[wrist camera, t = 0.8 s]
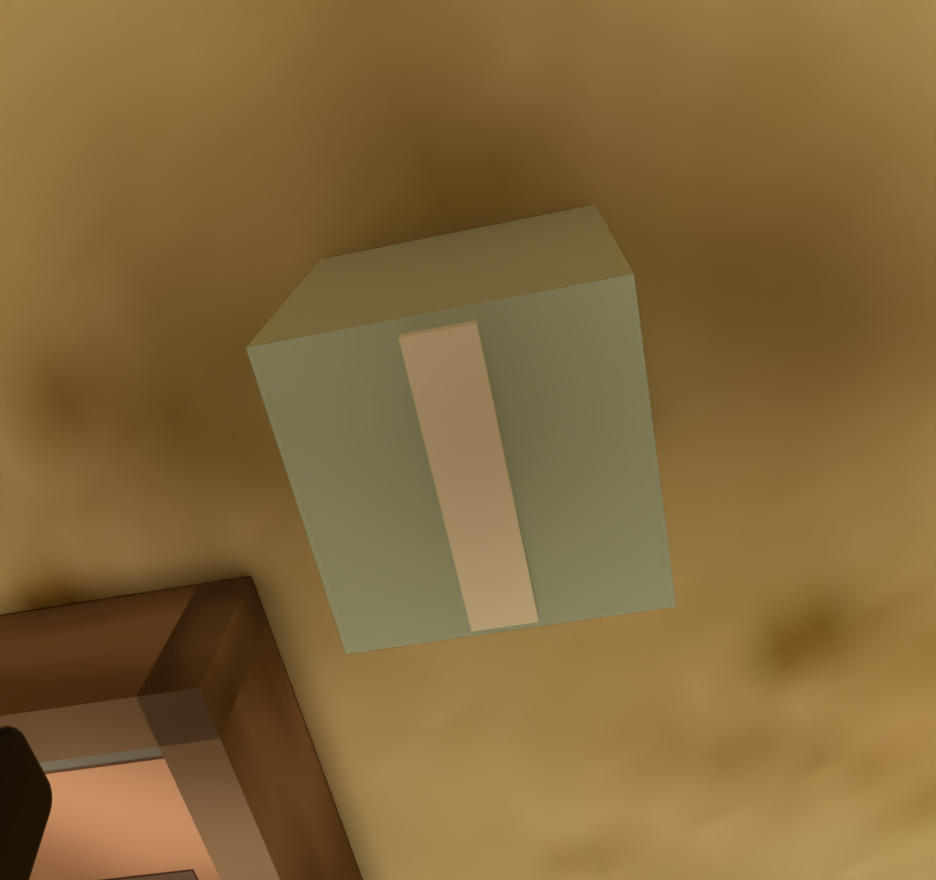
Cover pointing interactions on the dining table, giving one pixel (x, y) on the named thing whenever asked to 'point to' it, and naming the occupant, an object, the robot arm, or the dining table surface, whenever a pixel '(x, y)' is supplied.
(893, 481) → the dining table surface
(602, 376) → the cube
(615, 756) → the dining table surface
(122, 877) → the arena
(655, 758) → the dining table surface
